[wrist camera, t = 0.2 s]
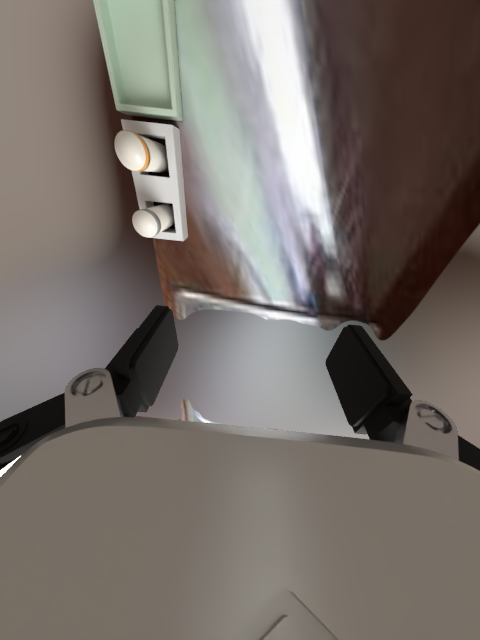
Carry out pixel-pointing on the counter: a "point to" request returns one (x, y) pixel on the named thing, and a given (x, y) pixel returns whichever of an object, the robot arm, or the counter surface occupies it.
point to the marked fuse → (140, 153)
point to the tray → (142, 56)
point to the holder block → (159, 186)
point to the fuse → (153, 220)
